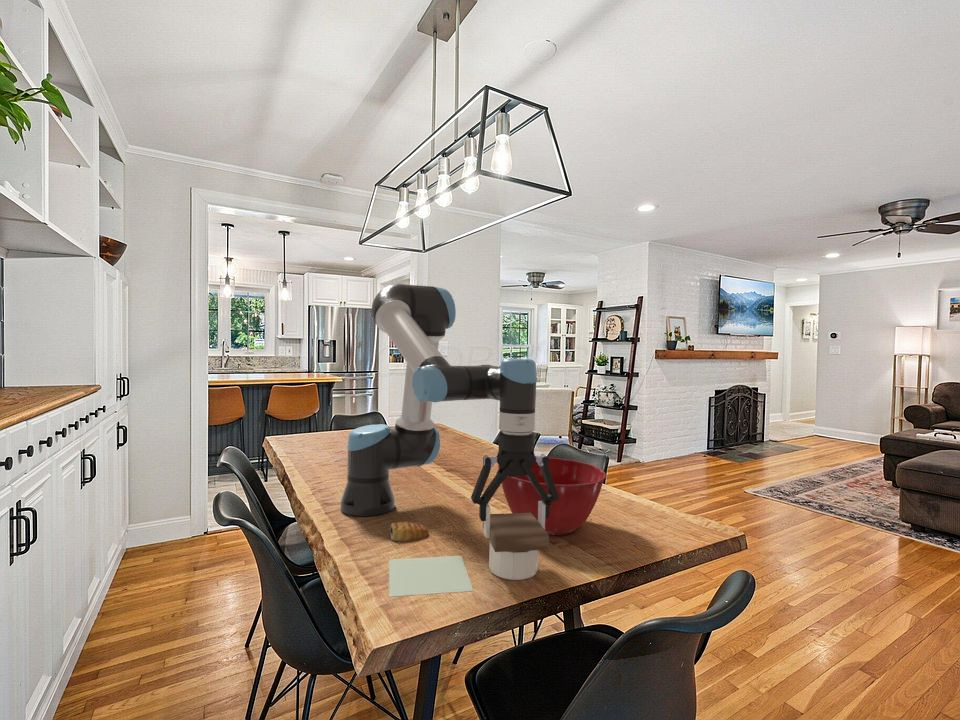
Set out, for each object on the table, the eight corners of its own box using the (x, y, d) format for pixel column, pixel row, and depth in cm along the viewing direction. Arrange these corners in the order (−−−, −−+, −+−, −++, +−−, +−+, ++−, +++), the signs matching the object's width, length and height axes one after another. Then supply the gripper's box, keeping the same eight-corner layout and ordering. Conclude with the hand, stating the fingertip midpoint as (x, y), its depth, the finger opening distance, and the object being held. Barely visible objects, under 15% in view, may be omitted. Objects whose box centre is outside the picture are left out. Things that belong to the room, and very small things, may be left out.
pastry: (425, 530, 127) (425, 516, 127) (430, 541, 121) (431, 525, 121) (388, 534, 124) (388, 519, 124) (391, 545, 118) (392, 529, 118)
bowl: (485, 561, 110) (486, 534, 109) (529, 558, 111) (530, 532, 111) (495, 583, 100) (495, 553, 100) (543, 580, 102) (543, 551, 101)
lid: (482, 527, 111) (483, 514, 111) (530, 525, 113) (530, 512, 113) (495, 552, 98) (495, 537, 98) (548, 549, 100) (549, 534, 100)
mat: (389, 561, 109) (389, 559, 109) (461, 556, 112) (461, 555, 112) (389, 598, 93) (389, 596, 93) (473, 592, 96) (473, 590, 96)
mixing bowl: (580, 506, 149) (581, 455, 148) (623, 545, 120) (625, 482, 120) (487, 509, 144) (488, 457, 143) (509, 550, 116) (511, 485, 115)
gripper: (464, 435, 99) (461, 544, 100) (576, 434, 103) (573, 538, 104) (458, 429, 106) (456, 530, 107) (563, 428, 110) (561, 525, 111)
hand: (514, 534), depth 105 cm, fingers open, 11 cm apart
